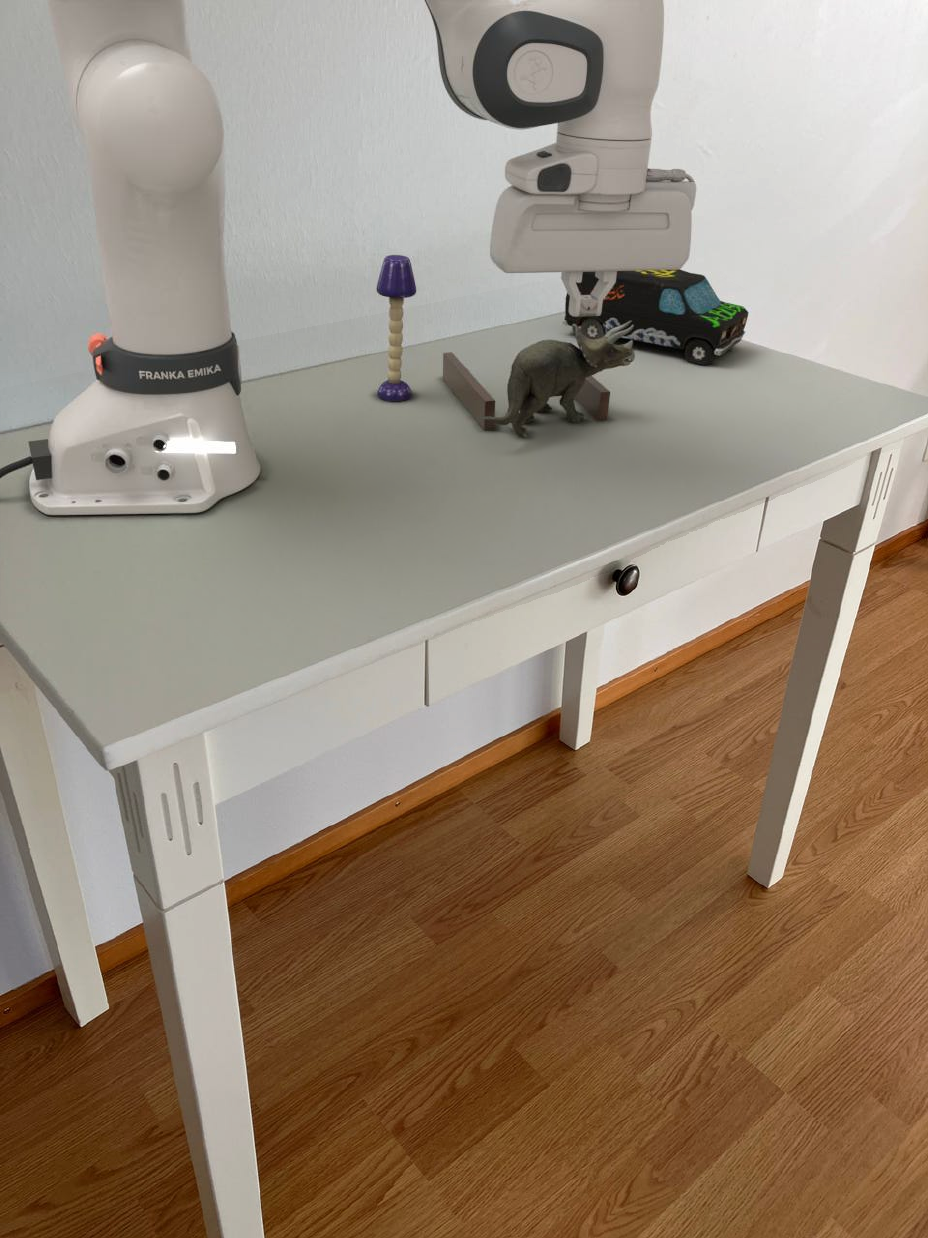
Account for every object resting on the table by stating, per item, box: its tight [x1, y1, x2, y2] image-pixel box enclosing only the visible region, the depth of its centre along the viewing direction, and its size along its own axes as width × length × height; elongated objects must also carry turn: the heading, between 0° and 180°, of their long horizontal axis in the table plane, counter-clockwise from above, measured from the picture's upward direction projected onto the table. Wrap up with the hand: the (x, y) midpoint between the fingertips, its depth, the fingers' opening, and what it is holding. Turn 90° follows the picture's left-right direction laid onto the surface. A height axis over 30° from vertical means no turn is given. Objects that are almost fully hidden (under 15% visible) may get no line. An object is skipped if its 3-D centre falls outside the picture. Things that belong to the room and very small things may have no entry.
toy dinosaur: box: [483, 321, 636, 438], centre depth 117 cm, size 22×8×11 cm, turn 126°
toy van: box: [561, 269, 750, 366], centre depth 146 cm, size 11×25×10 cm, turn 57°
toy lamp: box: [376, 254, 417, 402], centre depth 122 cm, size 5×5×17 cm
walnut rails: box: [442, 351, 611, 431], centre depth 126 cm, size 15×18×4 cm
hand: (584, 314), depth 104 cm, fingers closed
